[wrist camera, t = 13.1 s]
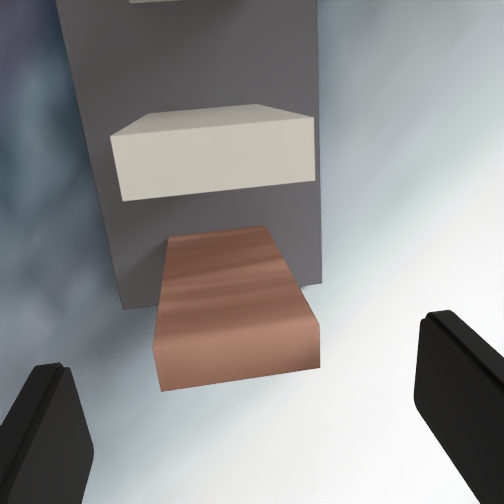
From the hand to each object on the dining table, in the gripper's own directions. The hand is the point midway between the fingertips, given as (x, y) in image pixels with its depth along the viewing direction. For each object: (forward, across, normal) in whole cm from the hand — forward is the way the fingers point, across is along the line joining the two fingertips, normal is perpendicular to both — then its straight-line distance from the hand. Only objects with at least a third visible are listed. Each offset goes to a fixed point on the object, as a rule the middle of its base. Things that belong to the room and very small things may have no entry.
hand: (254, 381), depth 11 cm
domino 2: (+12, 0, +1) cm, 12 cm away
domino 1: (+12, 0, -5) cm, 13 cm away
